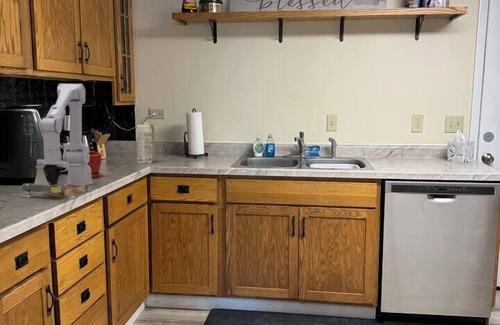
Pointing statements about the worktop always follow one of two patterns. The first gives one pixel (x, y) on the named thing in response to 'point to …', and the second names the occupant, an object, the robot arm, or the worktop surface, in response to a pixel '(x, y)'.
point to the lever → (41, 187)
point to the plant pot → (94, 163)
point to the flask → (40, 177)
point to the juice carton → (145, 143)
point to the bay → (69, 191)
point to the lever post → (27, 193)
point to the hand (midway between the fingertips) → (53, 184)
